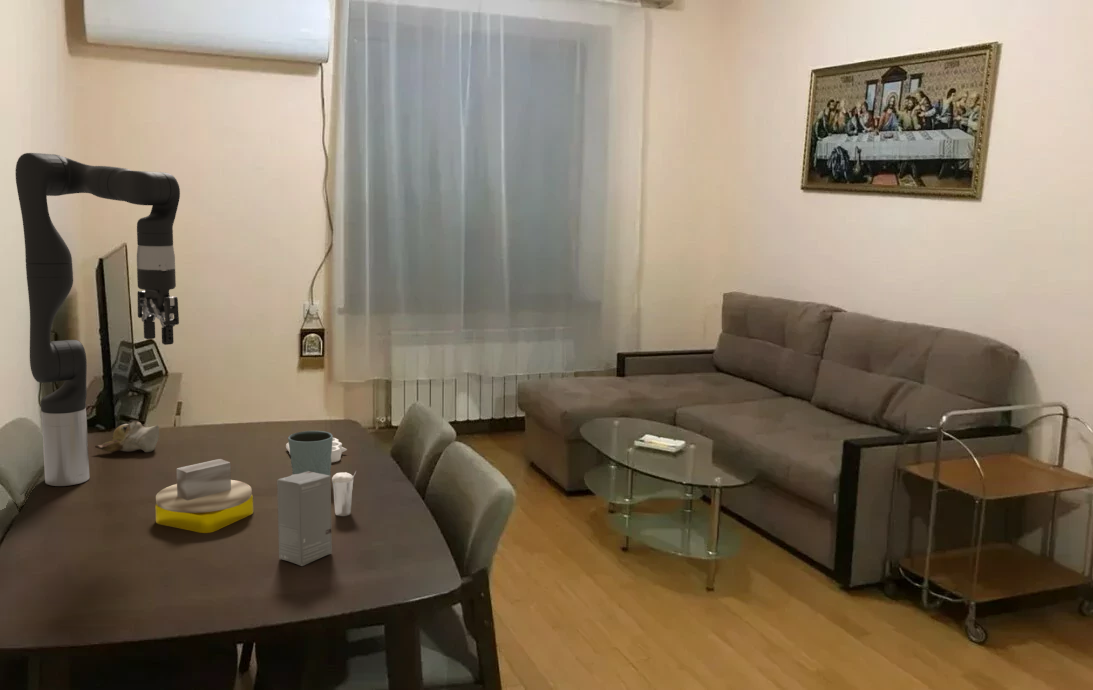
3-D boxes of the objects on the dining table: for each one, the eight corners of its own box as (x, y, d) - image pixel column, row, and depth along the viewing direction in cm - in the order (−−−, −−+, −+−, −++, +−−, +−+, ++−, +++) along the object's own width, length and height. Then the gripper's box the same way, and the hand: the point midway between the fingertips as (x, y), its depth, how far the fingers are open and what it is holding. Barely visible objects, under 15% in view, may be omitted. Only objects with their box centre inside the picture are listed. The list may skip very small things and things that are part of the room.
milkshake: (351, 518, 193) (351, 473, 192) (328, 516, 194) (328, 471, 193) (360, 511, 198) (360, 467, 196) (337, 509, 199) (337, 465, 197)
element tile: (257, 513, 196) (257, 492, 195) (208, 536, 182) (207, 513, 181) (203, 503, 201) (202, 482, 200) (151, 524, 187) (150, 502, 187)
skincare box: (301, 567, 167) (300, 485, 165) (275, 558, 171) (273, 478, 168) (334, 553, 174) (334, 474, 172) (308, 545, 178) (307, 467, 176)
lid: (138, 497, 190) (137, 465, 189) (220, 477, 204) (220, 447, 203) (186, 519, 178) (185, 485, 177) (269, 497, 192) (269, 465, 191)
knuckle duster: (284, 448, 245) (337, 444, 252) (295, 467, 229) (352, 461, 235) (283, 436, 245) (337, 432, 251) (295, 454, 229) (352, 449, 235)
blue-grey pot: (341, 485, 215) (341, 436, 213) (304, 494, 208) (303, 444, 206) (317, 475, 222) (317, 428, 220) (280, 483, 215) (279, 435, 213)
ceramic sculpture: (148, 424, 231) (90, 425, 231) (151, 456, 232) (94, 458, 232) (166, 414, 241) (111, 415, 242) (169, 446, 243) (114, 447, 243)
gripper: (123, 264, 194) (126, 338, 197) (153, 270, 185) (156, 347, 187) (158, 263, 200) (160, 335, 202) (189, 268, 190) (191, 344, 193)
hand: (158, 341), depth 195 cm, fingers open, 8 cm apart
